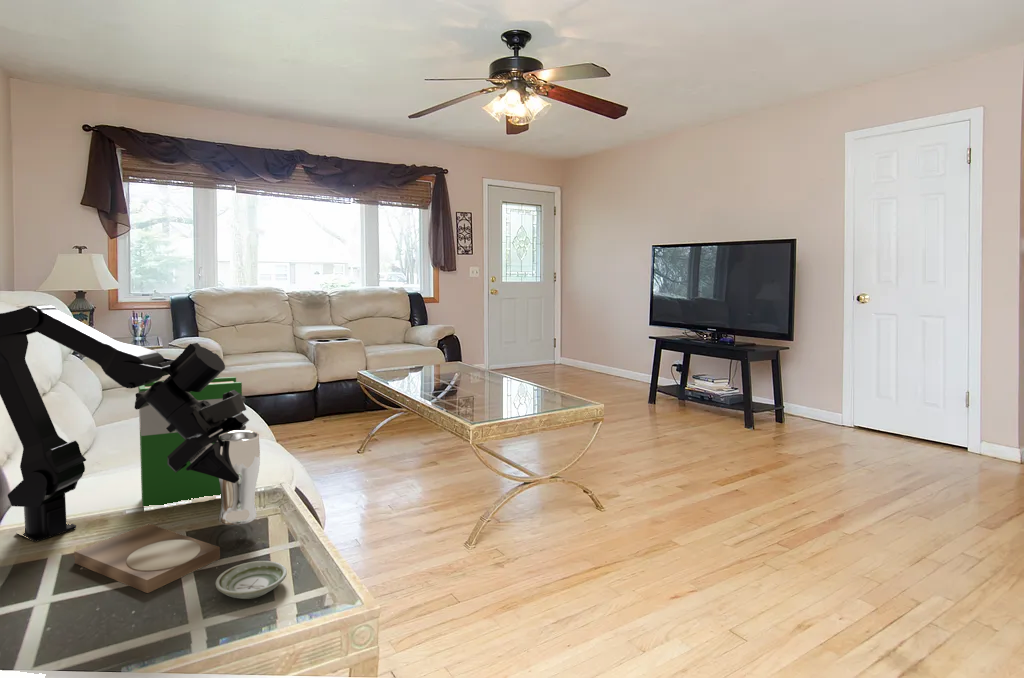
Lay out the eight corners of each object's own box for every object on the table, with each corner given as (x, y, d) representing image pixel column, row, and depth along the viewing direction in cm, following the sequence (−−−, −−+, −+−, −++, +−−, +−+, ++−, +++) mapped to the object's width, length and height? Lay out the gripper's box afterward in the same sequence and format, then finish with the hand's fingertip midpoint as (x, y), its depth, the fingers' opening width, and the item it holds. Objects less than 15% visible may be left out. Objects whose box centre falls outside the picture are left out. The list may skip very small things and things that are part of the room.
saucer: (292, 572, 93) (292, 558, 93) (279, 606, 84) (279, 590, 83) (227, 576, 91) (227, 561, 91) (206, 611, 82) (205, 594, 82)
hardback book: (236, 484, 129) (235, 376, 126) (242, 495, 123) (241, 382, 120) (141, 499, 119) (138, 382, 117) (143, 512, 113) (139, 389, 110)
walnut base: (74, 563, 93) (74, 549, 93) (149, 534, 104) (149, 522, 104) (147, 593, 85) (147, 578, 85) (220, 558, 96) (219, 545, 96)
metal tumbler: (242, 529, 100) (243, 442, 98) (206, 523, 101) (206, 438, 100) (267, 513, 106) (268, 432, 105) (233, 508, 108) (234, 428, 106)
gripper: (186, 389, 92) (257, 460, 93) (238, 369, 110) (297, 429, 112) (135, 436, 92) (207, 506, 94) (195, 409, 111) (254, 468, 112)
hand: (245, 474), depth 103 cm, fingers closed on metal tumbler, 7 cm apart
